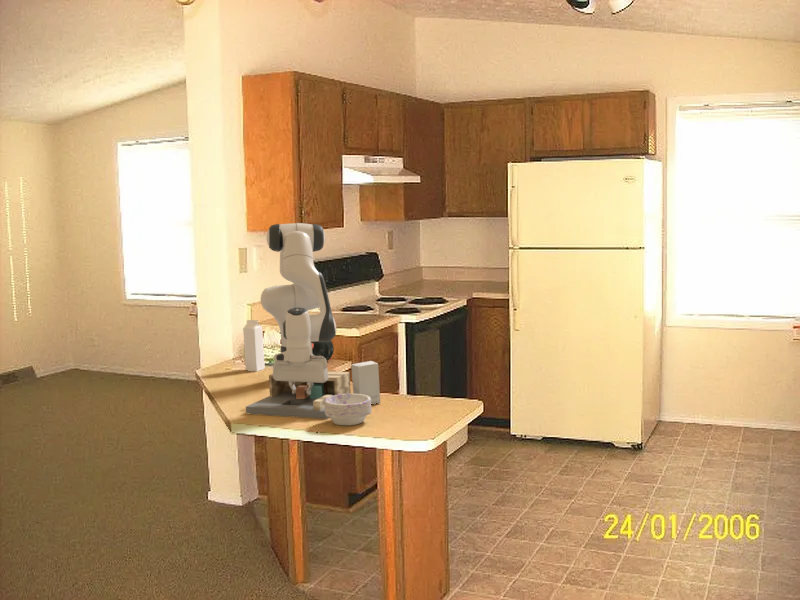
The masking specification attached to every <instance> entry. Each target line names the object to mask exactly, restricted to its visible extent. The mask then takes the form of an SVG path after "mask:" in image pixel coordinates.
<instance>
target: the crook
mask: <svg viewBox="0 0 800 600" xmlns="http://www.w3.org/2000/svg"><path fill="white" fill-rule="evenodd" d="M308 386H309V385H307V382H305V383H303V384H301V385H299V386H298V387H296V399H305V398H307V397H308V396H310V395H305V390H306V389H307V388H308ZM324 393H327V382H324Z"/></svg>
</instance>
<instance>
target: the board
mask: <svg viewBox="0 0 800 600" xmlns="http://www.w3.org/2000/svg"><path fill="white" fill-rule="evenodd" d="M325 395H333V396H334V395H335V394H334V393H325ZM317 399H319V398H310V396H308V397H307V398H305V399H296V394H292V391H285V392H283V393H280V394H278V395H276V396H274V397H270V395H269V396H267V397H264V398H262V399H260V400H257V401H255V402H253V403H250V404H248V405H246V406H245V414H246V413H250V414H249V415H258V414H262V415H263V416H275V415H276V416H277V417H289V416H292V417H291V418H306V417H307V418H309V419H323V420H326V419H329V417H327V416H326V415H325V408H324V409H322V410H314V407H313V401H315V400H317ZM293 416H294V417H293Z"/></svg>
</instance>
